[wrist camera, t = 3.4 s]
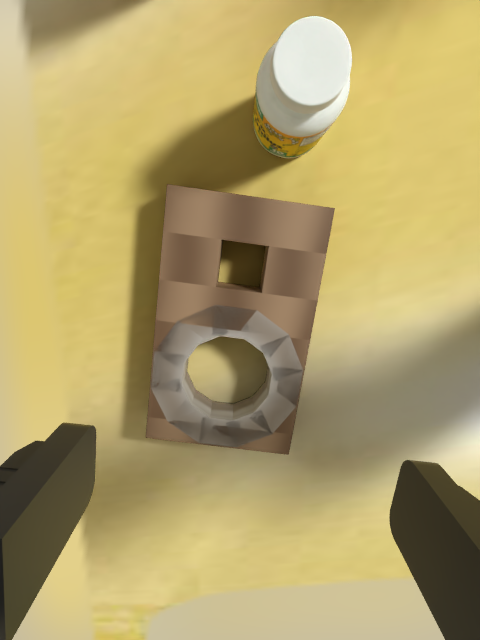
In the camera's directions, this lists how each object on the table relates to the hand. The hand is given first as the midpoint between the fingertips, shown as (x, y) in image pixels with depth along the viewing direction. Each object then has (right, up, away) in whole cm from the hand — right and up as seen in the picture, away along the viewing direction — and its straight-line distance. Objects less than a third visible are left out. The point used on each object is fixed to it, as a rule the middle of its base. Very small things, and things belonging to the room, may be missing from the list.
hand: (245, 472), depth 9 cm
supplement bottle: (+3, +19, +18) cm, 26 cm away
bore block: (-1, +4, +21) cm, 22 cm away
